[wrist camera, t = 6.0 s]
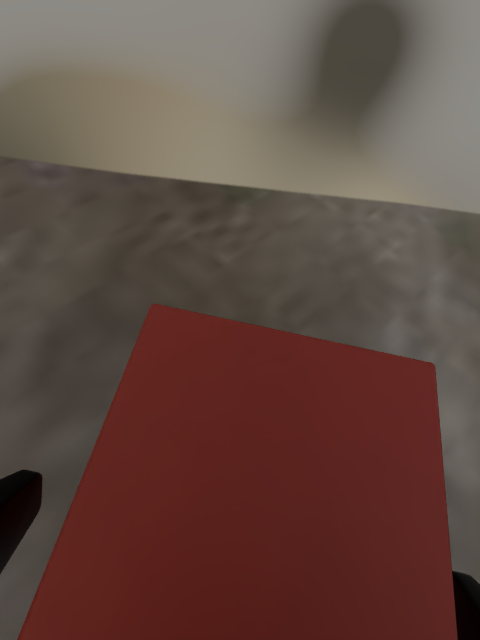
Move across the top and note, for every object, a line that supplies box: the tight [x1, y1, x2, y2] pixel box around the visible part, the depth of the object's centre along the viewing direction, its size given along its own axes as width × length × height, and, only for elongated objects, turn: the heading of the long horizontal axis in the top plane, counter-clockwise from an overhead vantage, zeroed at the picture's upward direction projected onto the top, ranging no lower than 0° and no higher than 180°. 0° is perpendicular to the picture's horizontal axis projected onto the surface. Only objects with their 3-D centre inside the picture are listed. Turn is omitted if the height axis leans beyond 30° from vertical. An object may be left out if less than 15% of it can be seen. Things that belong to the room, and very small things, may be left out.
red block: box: [17, 304, 458, 640], centre depth 10 cm, size 4×4×12 cm
